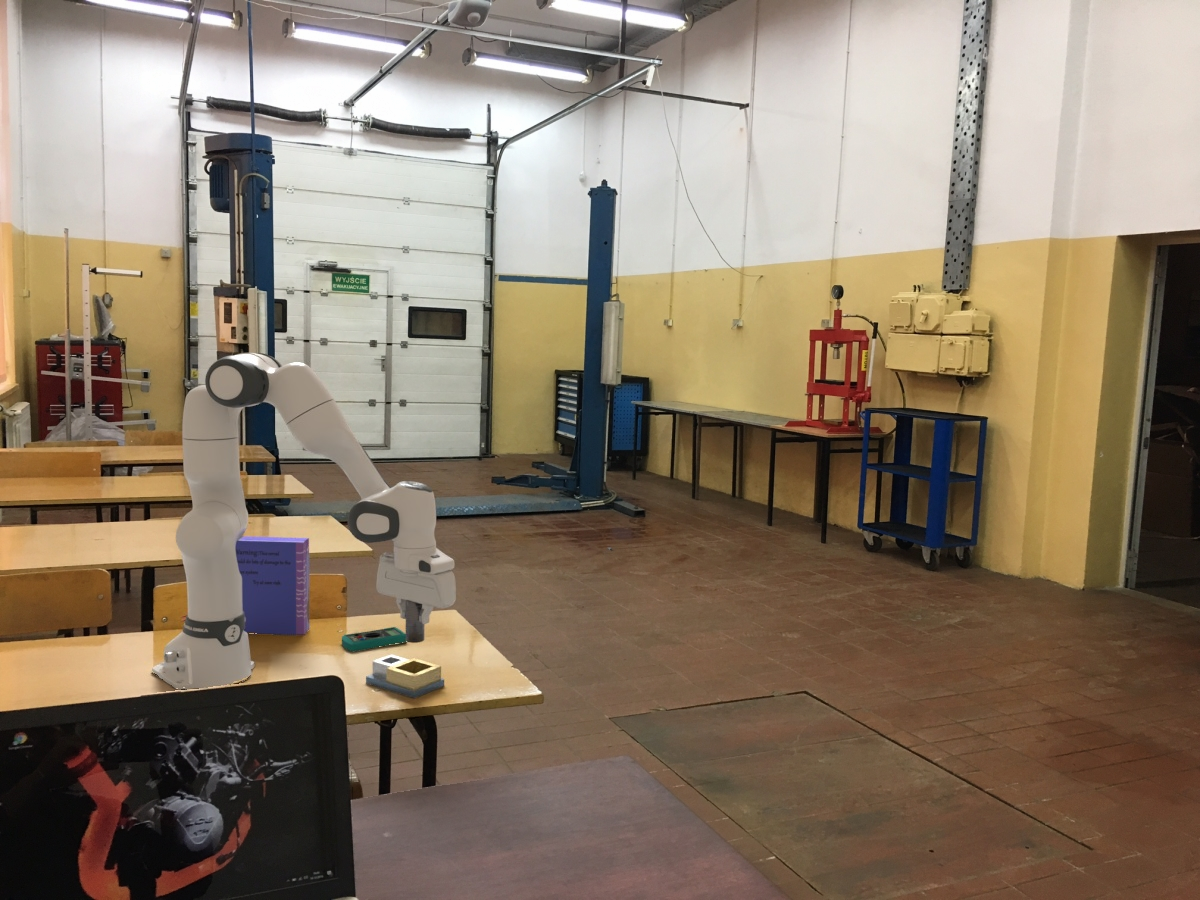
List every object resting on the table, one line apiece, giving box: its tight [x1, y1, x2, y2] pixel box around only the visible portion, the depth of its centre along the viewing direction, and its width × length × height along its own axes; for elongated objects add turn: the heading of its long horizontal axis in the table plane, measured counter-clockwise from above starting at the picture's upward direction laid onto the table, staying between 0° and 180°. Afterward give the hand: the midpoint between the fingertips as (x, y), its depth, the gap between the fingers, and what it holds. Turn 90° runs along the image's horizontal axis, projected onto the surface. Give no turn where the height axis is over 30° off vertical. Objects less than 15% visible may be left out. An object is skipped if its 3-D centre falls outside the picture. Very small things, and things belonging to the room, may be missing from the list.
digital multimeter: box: [341, 626, 407, 653], centre depth 235 cm, size 7×15×3 cm, turn 124°
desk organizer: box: [365, 654, 445, 699], centre depth 208 cm, size 14×9×4 cm, turn 57°
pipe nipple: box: [405, 600, 426, 644], centre depth 205 cm, size 4×4×9 cm
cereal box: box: [235, 535, 311, 636], centre depth 240 cm, size 17×5×24 cm, turn 91°
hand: (414, 620), depth 205 cm, fingers closed on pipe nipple, 4 cm apart
